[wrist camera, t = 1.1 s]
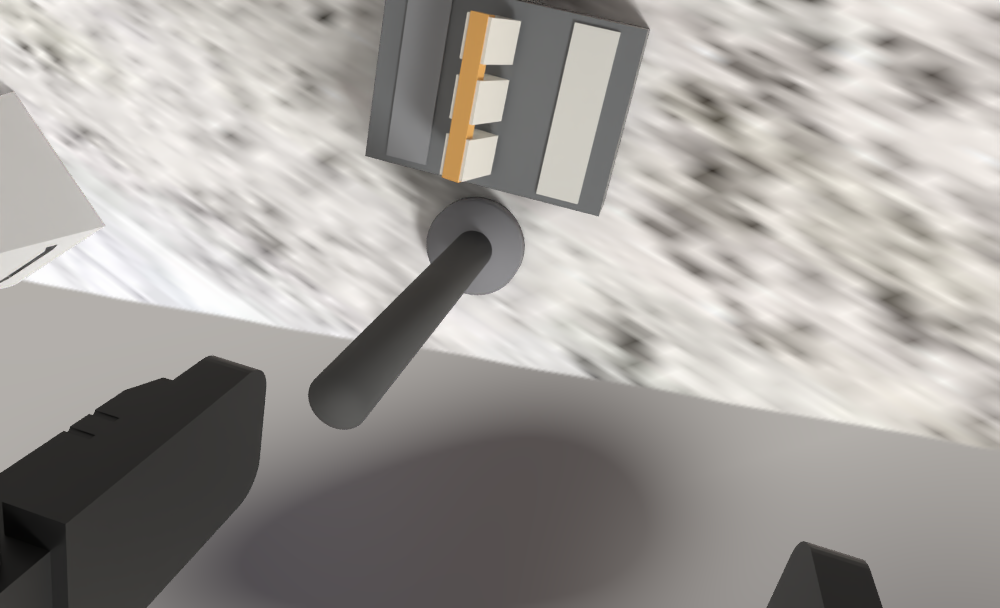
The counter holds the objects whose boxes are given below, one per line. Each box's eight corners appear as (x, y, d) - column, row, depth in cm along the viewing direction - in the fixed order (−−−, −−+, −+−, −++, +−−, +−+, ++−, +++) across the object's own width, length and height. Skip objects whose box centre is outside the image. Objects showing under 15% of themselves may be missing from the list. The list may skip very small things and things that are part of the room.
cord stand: (533, 210, 46) (426, 353, 26) (513, 299, 48) (401, 489, 29) (441, 186, 47) (270, 308, 27) (425, 274, 49) (258, 444, 30)
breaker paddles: (521, 18, 39) (491, 15, 36) (490, 176, 42) (460, 183, 39) (498, 13, 39) (467, 9, 36) (468, 169, 43) (438, 176, 40)
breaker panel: (650, 29, 41) (647, 30, 38) (603, 203, 45) (598, 216, 42) (407, -26, 43) (388, -29, 40) (383, 147, 46) (364, 156, 44)
